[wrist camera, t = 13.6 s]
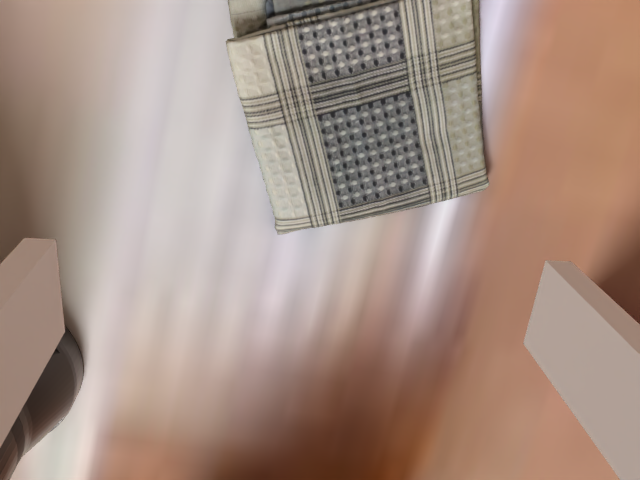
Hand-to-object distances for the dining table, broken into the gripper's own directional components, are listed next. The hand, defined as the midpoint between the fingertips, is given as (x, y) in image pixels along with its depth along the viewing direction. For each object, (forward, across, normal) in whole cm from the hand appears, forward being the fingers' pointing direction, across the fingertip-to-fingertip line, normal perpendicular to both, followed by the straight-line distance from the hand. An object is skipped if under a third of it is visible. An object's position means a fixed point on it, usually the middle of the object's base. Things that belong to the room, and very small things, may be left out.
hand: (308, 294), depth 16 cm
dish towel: (+31, +6, 0) cm, 31 cm away
